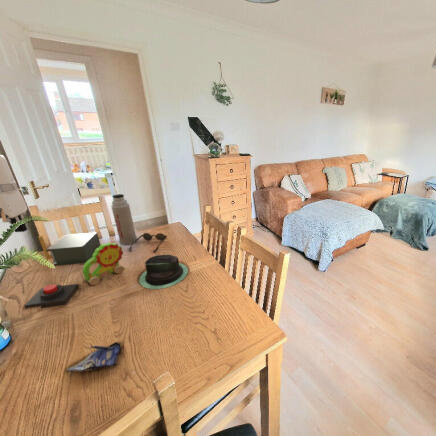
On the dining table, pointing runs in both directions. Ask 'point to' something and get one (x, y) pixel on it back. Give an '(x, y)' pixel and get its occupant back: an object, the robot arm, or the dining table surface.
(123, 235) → the thermos bottle
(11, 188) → the robot arm
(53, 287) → the red button
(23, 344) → the dining table surface
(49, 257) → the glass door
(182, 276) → the black fedora hat
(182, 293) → the dining table surface
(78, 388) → the dining table surface
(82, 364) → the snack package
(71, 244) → the dark green box
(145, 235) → the eyeglasses
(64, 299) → the control block
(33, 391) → the dining table surface
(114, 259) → the toy lion
